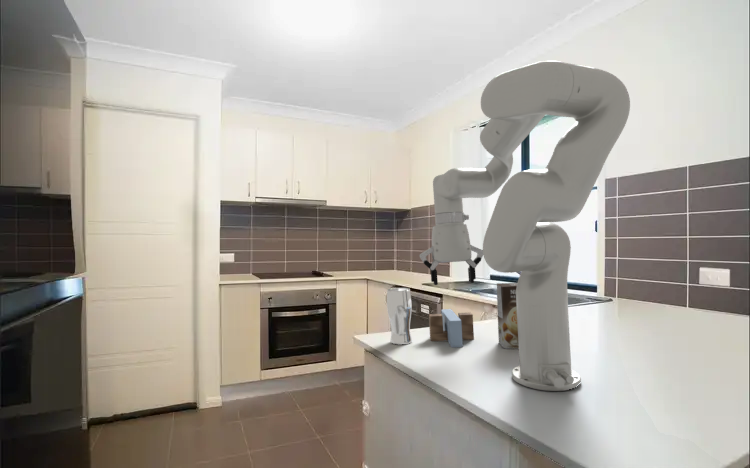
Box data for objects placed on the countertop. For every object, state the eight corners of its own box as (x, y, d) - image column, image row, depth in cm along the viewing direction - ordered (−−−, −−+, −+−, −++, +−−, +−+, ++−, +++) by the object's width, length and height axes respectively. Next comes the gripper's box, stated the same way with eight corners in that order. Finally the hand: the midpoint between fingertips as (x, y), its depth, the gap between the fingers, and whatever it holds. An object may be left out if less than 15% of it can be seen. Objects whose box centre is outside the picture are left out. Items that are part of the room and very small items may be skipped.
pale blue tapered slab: (462, 346, 103) (461, 320, 103) (451, 347, 103) (449, 320, 103) (452, 331, 119) (451, 309, 119) (442, 332, 119) (441, 309, 119)
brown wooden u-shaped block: (471, 336, 112) (470, 312, 113) (474, 339, 109) (472, 314, 110) (430, 338, 113) (428, 314, 113) (431, 341, 110) (430, 316, 110)
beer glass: (414, 344, 107) (411, 290, 107) (389, 346, 107) (386, 291, 107) (412, 338, 114) (409, 287, 114) (388, 339, 114) (386, 288, 114)
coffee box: (503, 349, 99) (500, 286, 99) (498, 342, 105) (495, 283, 106) (541, 348, 98) (537, 285, 98) (533, 341, 104) (530, 281, 105)
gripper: (478, 219, 109) (482, 280, 108) (416, 223, 109) (420, 284, 109) (485, 217, 101) (489, 283, 101) (418, 221, 102) (422, 286, 101)
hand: (453, 283), depth 105 cm, fingers open, 9 cm apart
